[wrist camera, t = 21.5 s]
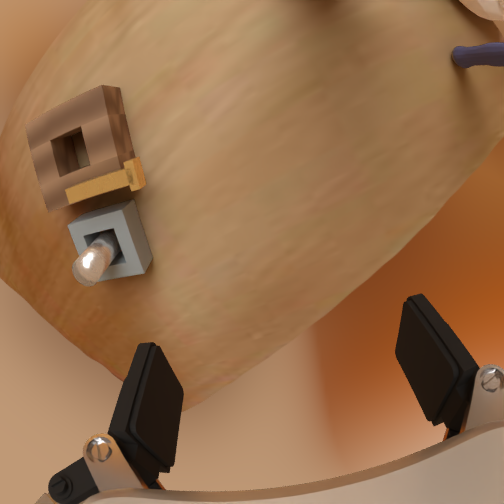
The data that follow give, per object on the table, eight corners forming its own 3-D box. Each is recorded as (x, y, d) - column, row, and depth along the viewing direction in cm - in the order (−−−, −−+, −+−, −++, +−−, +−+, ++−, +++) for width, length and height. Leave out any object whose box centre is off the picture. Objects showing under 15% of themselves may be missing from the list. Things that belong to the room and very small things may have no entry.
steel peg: (102, 226, 43) (67, 261, 32) (123, 220, 42) (90, 256, 32) (110, 248, 44) (79, 288, 34) (131, 243, 44) (103, 284, 33)
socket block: (47, 121, 34) (24, 124, 29) (119, 87, 33) (101, 85, 28) (67, 200, 40) (48, 212, 35) (140, 177, 40) (125, 187, 34)
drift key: (72, 179, 33) (63, 184, 31) (139, 156, 32) (132, 159, 30) (80, 203, 34) (71, 209, 32) (146, 184, 34) (140, 189, 32)
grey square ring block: (82, 214, 41) (67, 225, 37) (133, 199, 41) (122, 209, 36) (102, 267, 46) (91, 282, 41) (153, 257, 45) (144, 273, 41)
